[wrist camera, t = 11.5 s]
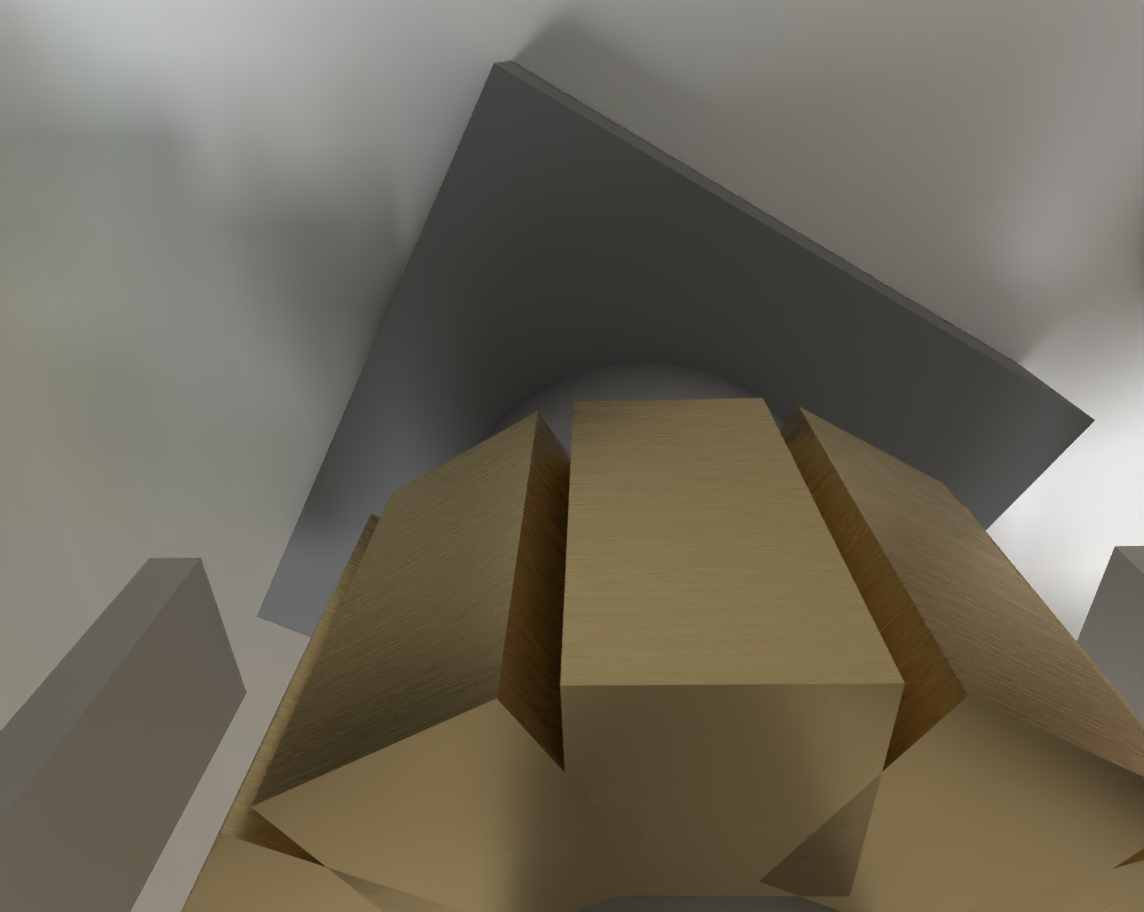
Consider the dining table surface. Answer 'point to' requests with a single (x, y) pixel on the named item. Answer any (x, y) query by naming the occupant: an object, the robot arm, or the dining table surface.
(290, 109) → the dining table surface
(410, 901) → the collar
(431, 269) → the hub
